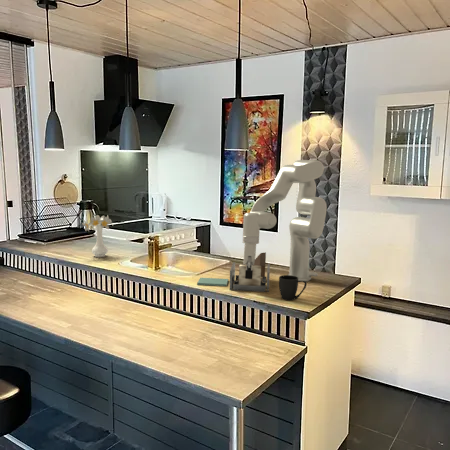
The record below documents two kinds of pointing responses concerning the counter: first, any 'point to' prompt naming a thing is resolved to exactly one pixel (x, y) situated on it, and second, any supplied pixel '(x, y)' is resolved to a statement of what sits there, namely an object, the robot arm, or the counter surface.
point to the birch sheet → (255, 276)
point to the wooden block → (261, 262)
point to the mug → (289, 287)
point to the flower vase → (99, 234)
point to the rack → (238, 287)
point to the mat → (212, 282)
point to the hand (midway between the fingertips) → (249, 276)
